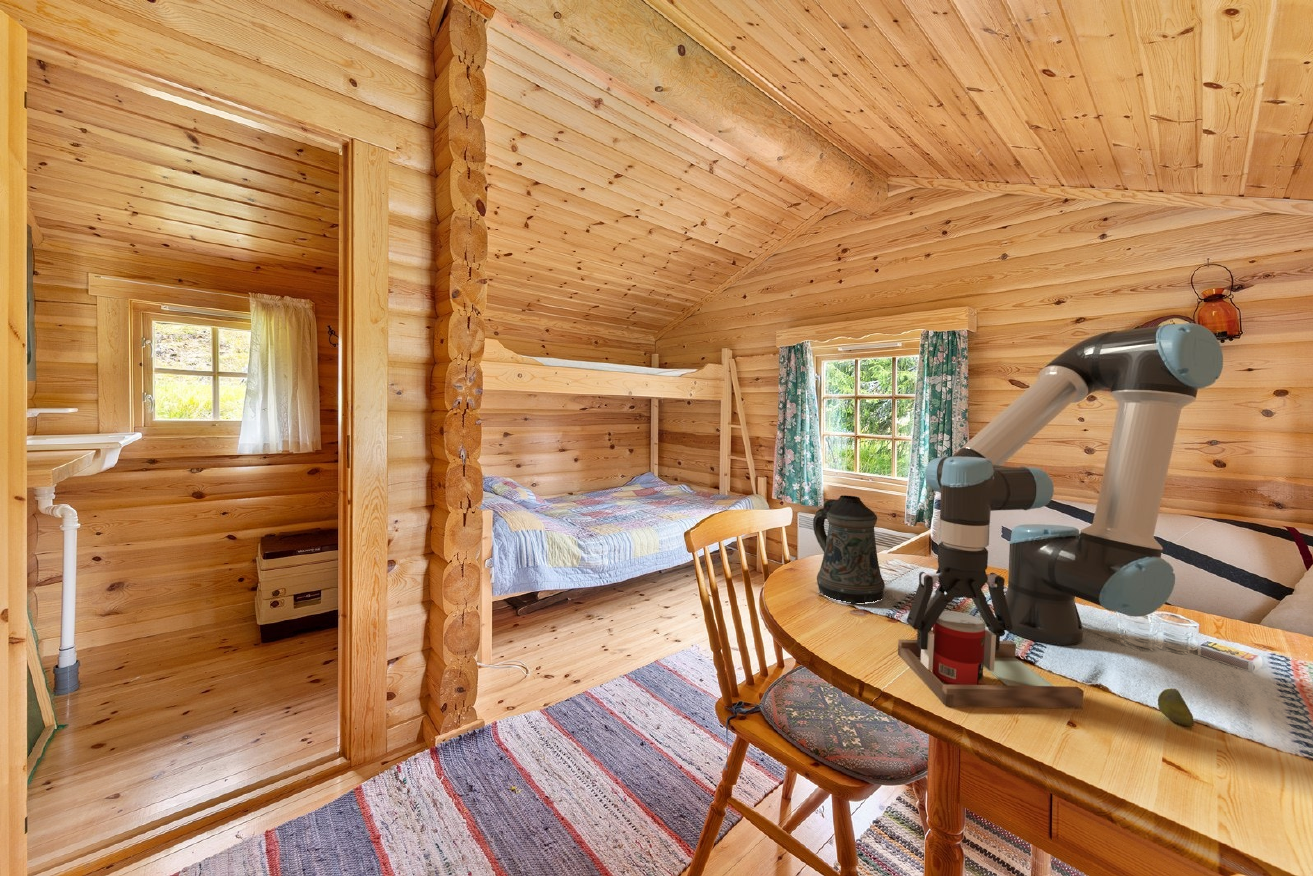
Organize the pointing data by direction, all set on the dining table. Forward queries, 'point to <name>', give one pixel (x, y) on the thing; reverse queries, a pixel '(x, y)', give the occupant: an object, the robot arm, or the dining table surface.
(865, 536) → the beer stein
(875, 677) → the dining table surface
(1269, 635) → the dining table surface
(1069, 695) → the bay
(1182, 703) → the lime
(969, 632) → the canned food
